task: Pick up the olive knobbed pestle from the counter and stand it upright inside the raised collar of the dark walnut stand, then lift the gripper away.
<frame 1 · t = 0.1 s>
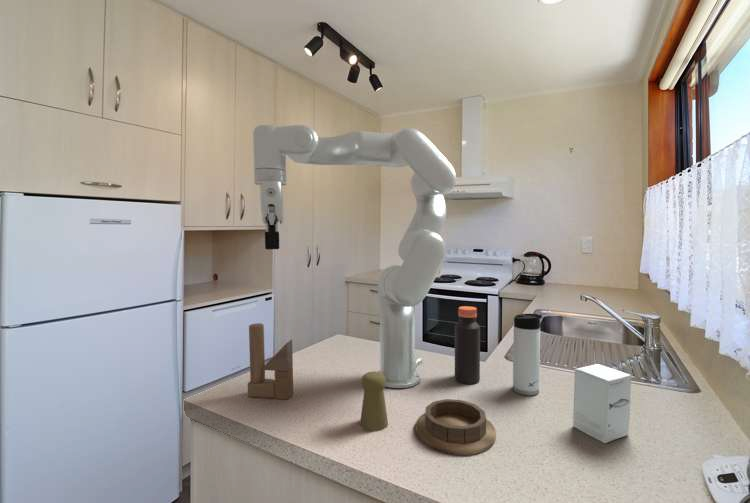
hand: (272, 248, 92), 37 cm above the counter, tool pointing down, fingers open, 9 cm apart
collar stand: (454, 431, 77), on the counter
travel mug: (526, 391, 96), on the counter
bottle: (467, 380, 103), on the counter
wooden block: (270, 396, 94), on the counter
olive knobbed pestle: (374, 424, 80), on the counter
supplement box: (600, 432, 77), on the counter
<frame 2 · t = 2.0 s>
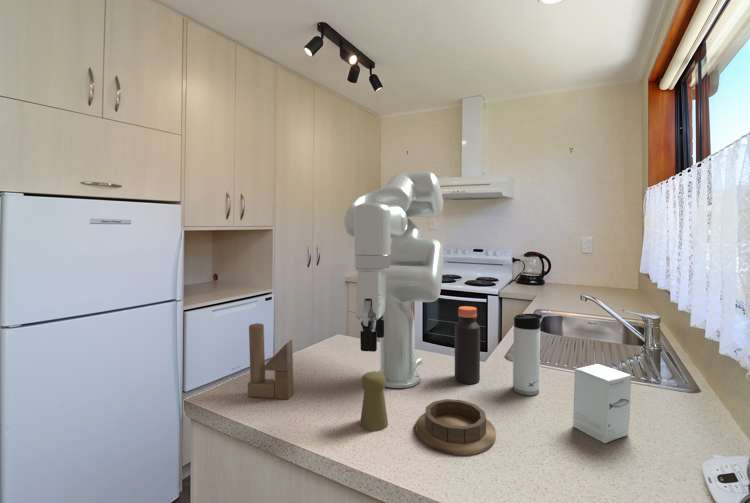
hand: (373, 343, 79), 18 cm above the counter, tool pointing down, fingers open, 9 cm apart
nothing on the counter moved.
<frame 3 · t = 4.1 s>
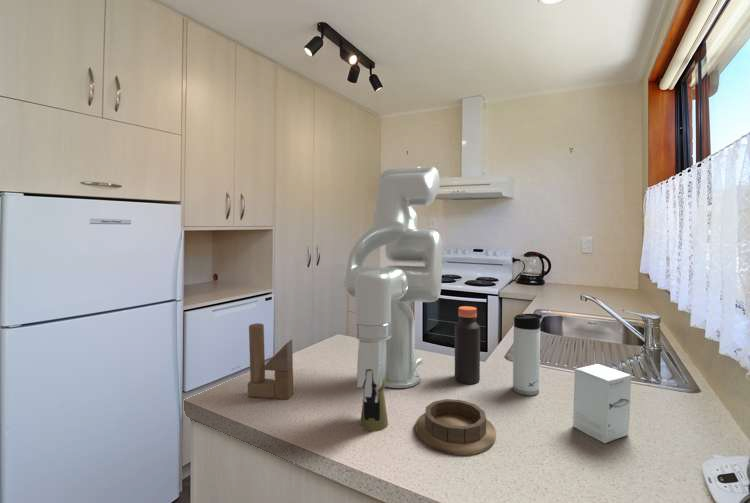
hand: (374, 413, 80), 2 cm above the counter, tool pointing down, fingers closed on olive knobbed pestle, 4 cm apart
olive knobbed pestle: (374, 424, 80), on the counter, touching gripper
everything else where it was.
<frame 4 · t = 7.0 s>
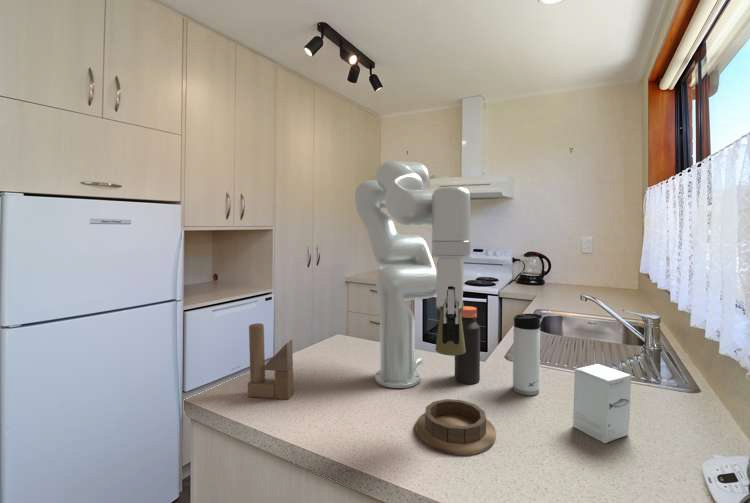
hand: (450, 339, 76), 19 cm above the counter, tool pointing down, fingers closed on olive knobbed pestle, 4 cm apart
olive knobbed pestle: (450, 351, 76), point 17 cm above the counter, touching gripper
everything else where it was.
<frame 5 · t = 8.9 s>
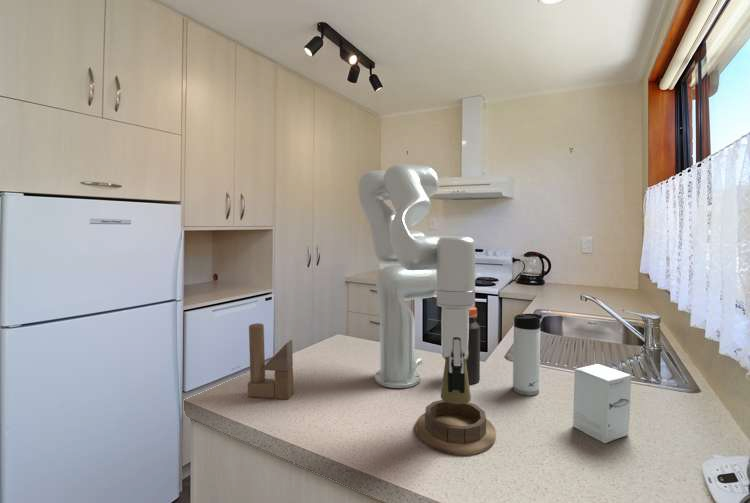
hand: (455, 386, 76), 10 cm above the counter, tool pointing down, fingers closed on olive knobbed pestle, 4 cm apart
olive knobbed pestle: (455, 398, 76), point 7 cm above the counter, touching gripper
everything else where it was.
when the fingers open (5 cm above the counter, at t = 10.1 s): olive knobbed pestle drops 2 cm, resting on collar stand.
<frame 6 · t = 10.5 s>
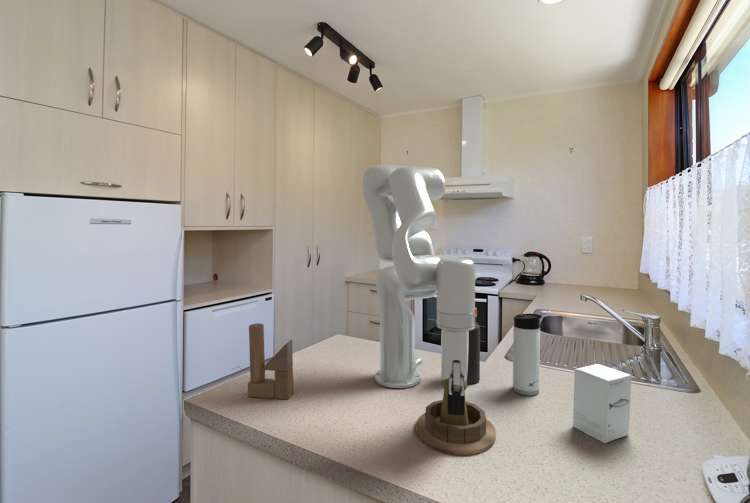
hand: (455, 403, 77), 6 cm above the counter, tool pointing down, fingers open, 8 cm apart
olive knobbed pestle: (454, 427, 77), point 1 cm above the counter, touching collar stand
everything else where it was.
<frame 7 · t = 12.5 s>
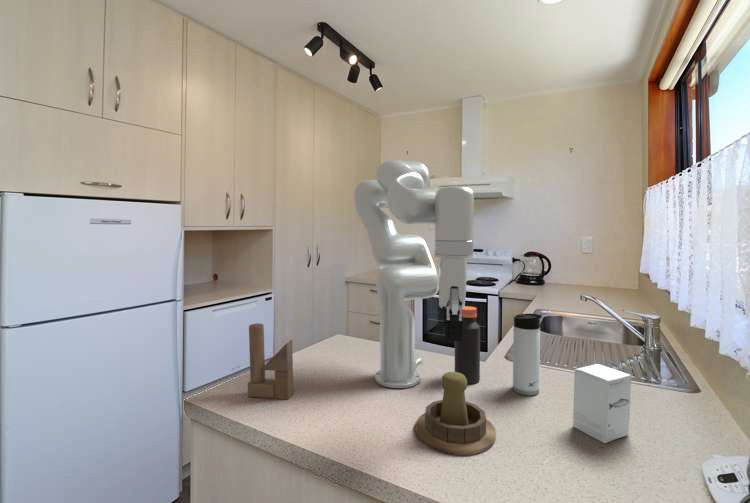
hand: (452, 333, 76), 20 cm above the counter, tool pointing down, fingers open, 9 cm apart
nothing on the counter moved.
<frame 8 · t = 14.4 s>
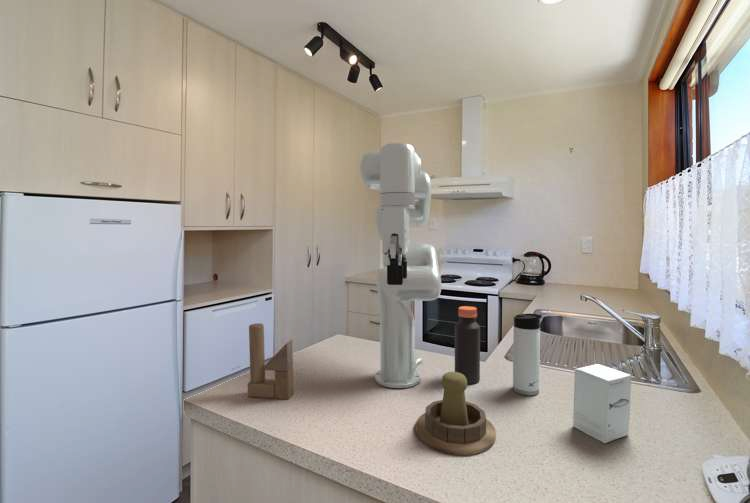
hand: (397, 281, 82), 30 cm above the counter, tool pointing down, fingers open, 9 cm apart
nothing on the counter moved.
at the end: olive knobbed pestle 0.4 cm off-centre on the collar stand, point 0.8 cm above the collar stand's base; olive knobbed pestle tilted 0°; the gripper is holding nothing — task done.
